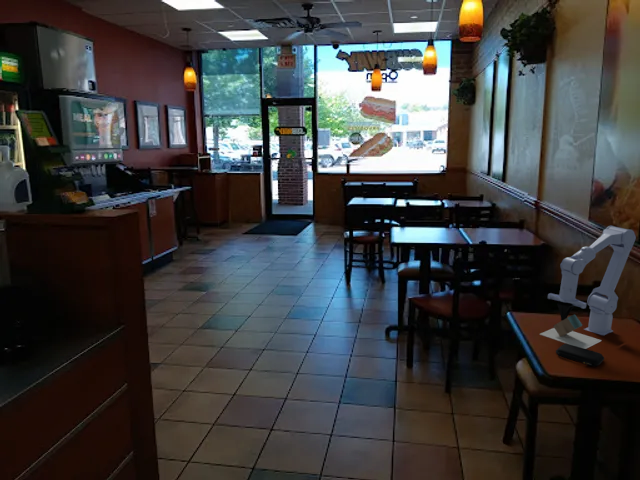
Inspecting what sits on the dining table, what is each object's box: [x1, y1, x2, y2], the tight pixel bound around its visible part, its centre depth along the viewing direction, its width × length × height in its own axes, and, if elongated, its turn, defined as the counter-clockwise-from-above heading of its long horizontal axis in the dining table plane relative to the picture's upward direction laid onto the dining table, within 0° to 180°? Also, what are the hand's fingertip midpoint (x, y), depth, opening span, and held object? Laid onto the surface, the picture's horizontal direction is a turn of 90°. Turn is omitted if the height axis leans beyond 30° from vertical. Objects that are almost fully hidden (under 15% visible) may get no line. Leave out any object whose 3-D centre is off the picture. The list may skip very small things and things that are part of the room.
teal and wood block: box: [552, 314, 583, 337], centre depth 203 cm, size 5×5×8 cm
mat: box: [539, 327, 602, 350], centre depth 203 cm, size 15×18×1 cm
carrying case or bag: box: [555, 343, 605, 368], centre depth 185 cm, size 11×3×15 cm
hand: (563, 320), depth 203 cm, fingers closed, pressing on teal and wood block
